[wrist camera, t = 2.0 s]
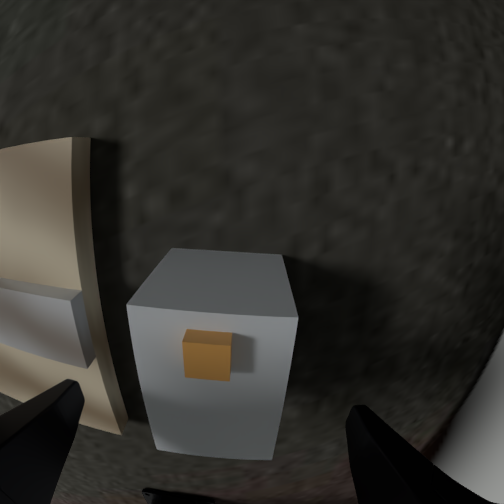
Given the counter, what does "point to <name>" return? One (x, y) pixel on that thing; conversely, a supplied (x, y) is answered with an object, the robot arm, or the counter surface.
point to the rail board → (53, 281)
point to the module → (214, 351)
